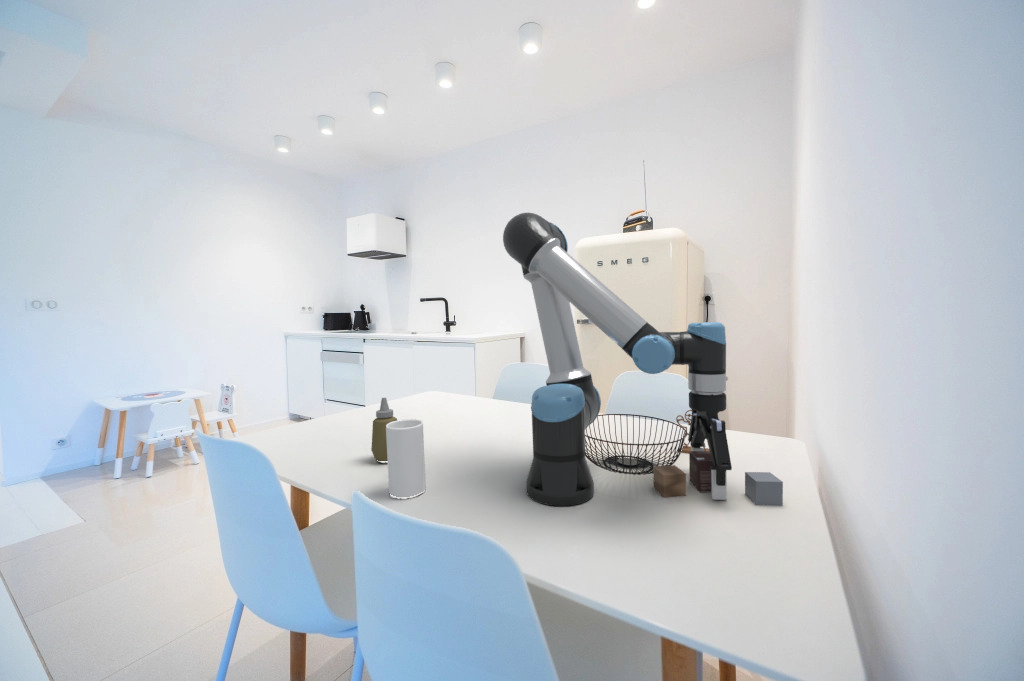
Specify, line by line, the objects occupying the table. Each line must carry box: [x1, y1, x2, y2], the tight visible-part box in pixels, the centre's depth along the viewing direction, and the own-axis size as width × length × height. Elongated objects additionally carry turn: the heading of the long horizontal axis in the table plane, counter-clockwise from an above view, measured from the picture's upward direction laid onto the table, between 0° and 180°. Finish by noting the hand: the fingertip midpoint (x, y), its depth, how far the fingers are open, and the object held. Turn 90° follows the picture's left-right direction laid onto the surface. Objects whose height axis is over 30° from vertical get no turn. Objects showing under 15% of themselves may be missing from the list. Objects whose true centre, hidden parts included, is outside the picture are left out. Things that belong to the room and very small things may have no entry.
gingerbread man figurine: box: [675, 409, 710, 455], centre depth 114 cm, size 9×4×12 cm, turn 61°
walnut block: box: [652, 464, 687, 498], centre depth 89 cm, size 5×5×5 cm
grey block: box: [744, 471, 784, 507], centre depth 84 cm, size 5×5×5 cm
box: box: [688, 451, 722, 493], centre depth 91 cm, size 6×6×7 cm
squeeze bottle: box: [371, 397, 398, 461], centre depth 115 cm, size 8×8×18 cm
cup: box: [386, 418, 427, 497], centre depth 93 cm, size 8×8×16 cm
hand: (707, 486), depth 91 cm, fingers open, 12 cm apart
